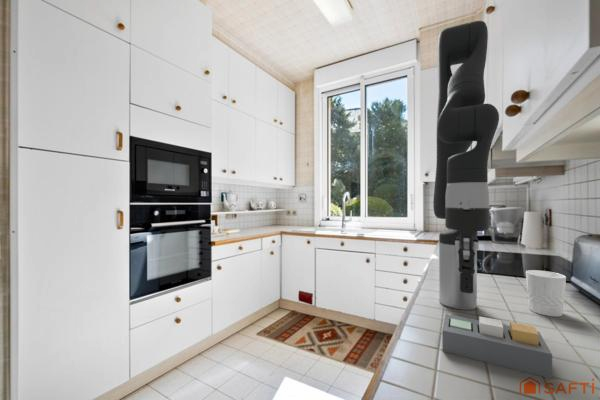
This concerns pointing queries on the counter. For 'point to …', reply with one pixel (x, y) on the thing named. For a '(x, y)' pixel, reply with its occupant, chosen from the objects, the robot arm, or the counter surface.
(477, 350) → the keypad
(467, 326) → the sage green key
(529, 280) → the white cup
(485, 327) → the off-white key
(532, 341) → the amber key
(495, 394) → the counter surface
